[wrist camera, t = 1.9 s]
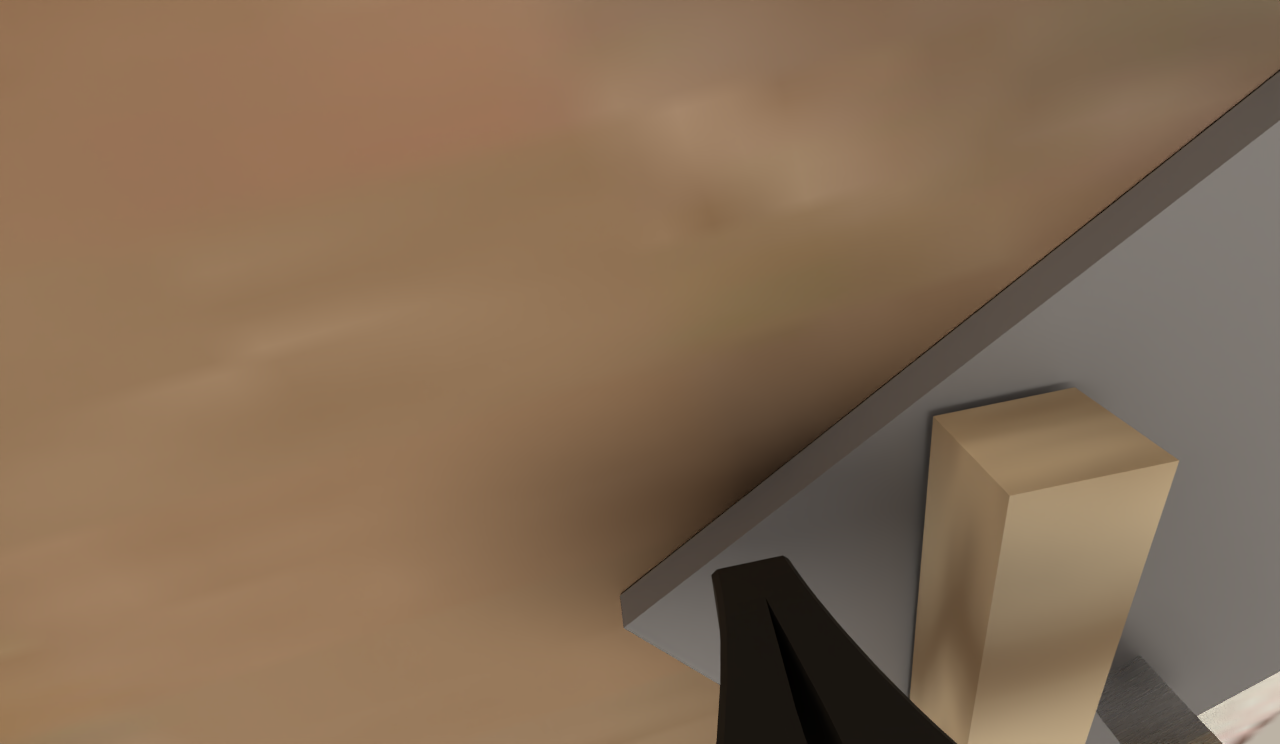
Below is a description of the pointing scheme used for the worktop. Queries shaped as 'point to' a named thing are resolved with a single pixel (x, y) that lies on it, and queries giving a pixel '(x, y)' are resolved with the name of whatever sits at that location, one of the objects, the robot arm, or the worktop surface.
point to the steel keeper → (1148, 709)
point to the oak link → (1030, 564)
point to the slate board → (1046, 362)
